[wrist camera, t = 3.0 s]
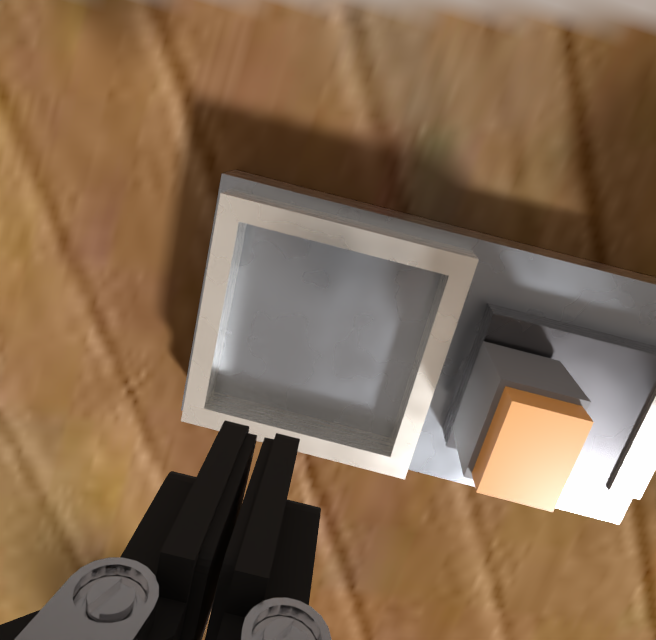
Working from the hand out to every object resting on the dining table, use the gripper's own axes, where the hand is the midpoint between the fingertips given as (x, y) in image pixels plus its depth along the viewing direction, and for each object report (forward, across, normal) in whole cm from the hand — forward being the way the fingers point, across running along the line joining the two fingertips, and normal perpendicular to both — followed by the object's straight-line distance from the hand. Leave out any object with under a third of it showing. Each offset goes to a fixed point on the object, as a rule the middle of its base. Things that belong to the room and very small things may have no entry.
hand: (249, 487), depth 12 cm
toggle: (+9, -8, 0) cm, 12 cm away
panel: (+13, -5, 0) cm, 14 cm away
